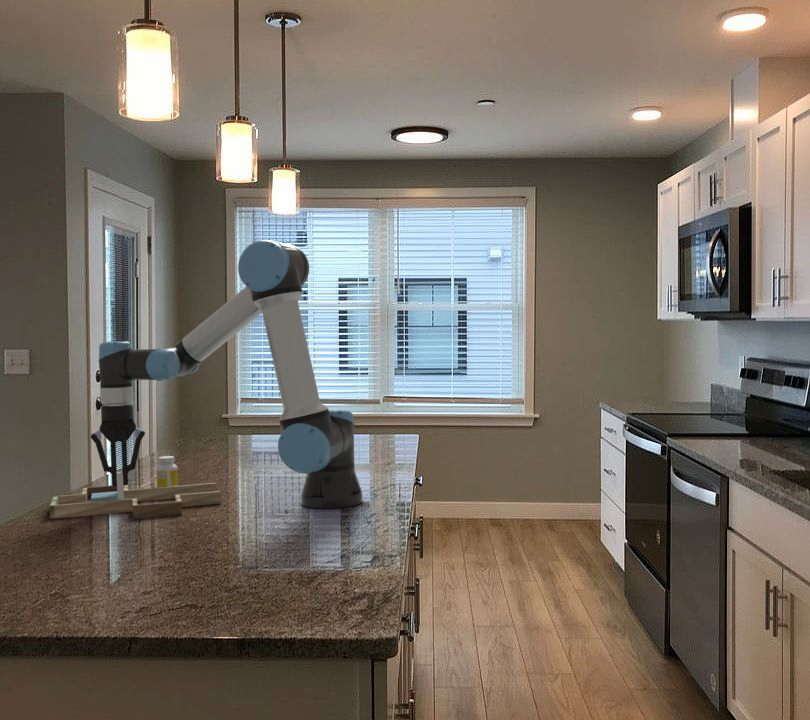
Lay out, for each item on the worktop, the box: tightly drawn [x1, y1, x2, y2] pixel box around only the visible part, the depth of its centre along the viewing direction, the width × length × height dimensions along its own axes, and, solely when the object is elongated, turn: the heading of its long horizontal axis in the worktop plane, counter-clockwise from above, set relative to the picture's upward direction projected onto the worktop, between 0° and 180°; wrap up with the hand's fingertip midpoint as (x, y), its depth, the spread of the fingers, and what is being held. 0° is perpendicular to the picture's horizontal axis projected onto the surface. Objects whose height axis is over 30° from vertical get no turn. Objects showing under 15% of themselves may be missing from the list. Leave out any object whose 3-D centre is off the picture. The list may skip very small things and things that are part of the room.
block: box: [91, 491, 118, 502], centre depth 204 cm, size 6×6×4 cm
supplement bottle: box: [156, 455, 179, 488], centre depth 220 cm, size 5×5×10 cm
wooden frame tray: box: [49, 482, 222, 520], centre depth 207 cm, size 28×40×3 cm
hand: (120, 498), depth 206 cm, fingers closed
